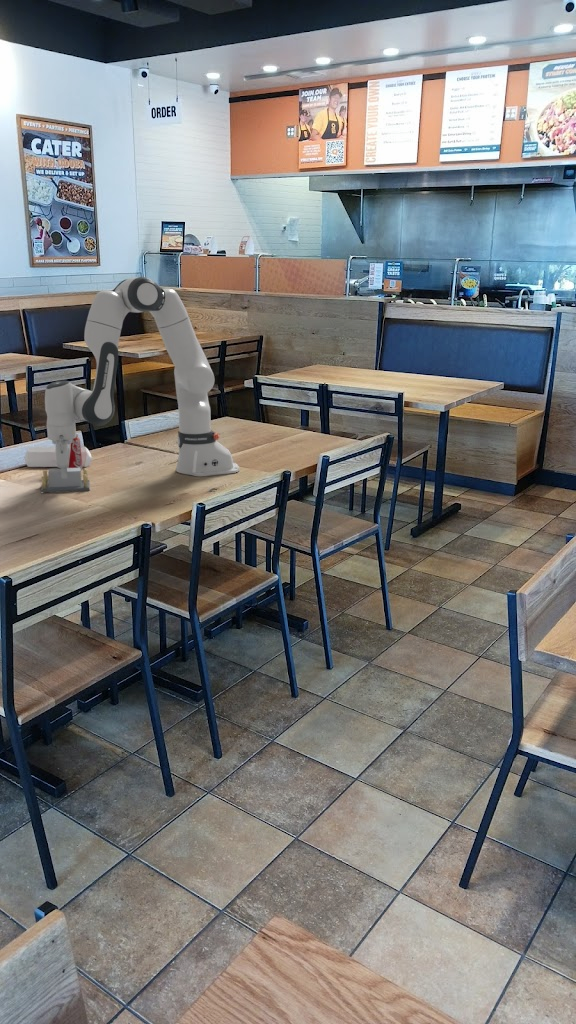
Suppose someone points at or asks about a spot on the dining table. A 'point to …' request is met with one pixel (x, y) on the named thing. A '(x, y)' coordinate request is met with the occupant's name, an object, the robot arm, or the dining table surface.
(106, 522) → the dining table surface
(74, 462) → the soda can
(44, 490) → the tray
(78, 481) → the grey rectangular block
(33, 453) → the white faceted prism
